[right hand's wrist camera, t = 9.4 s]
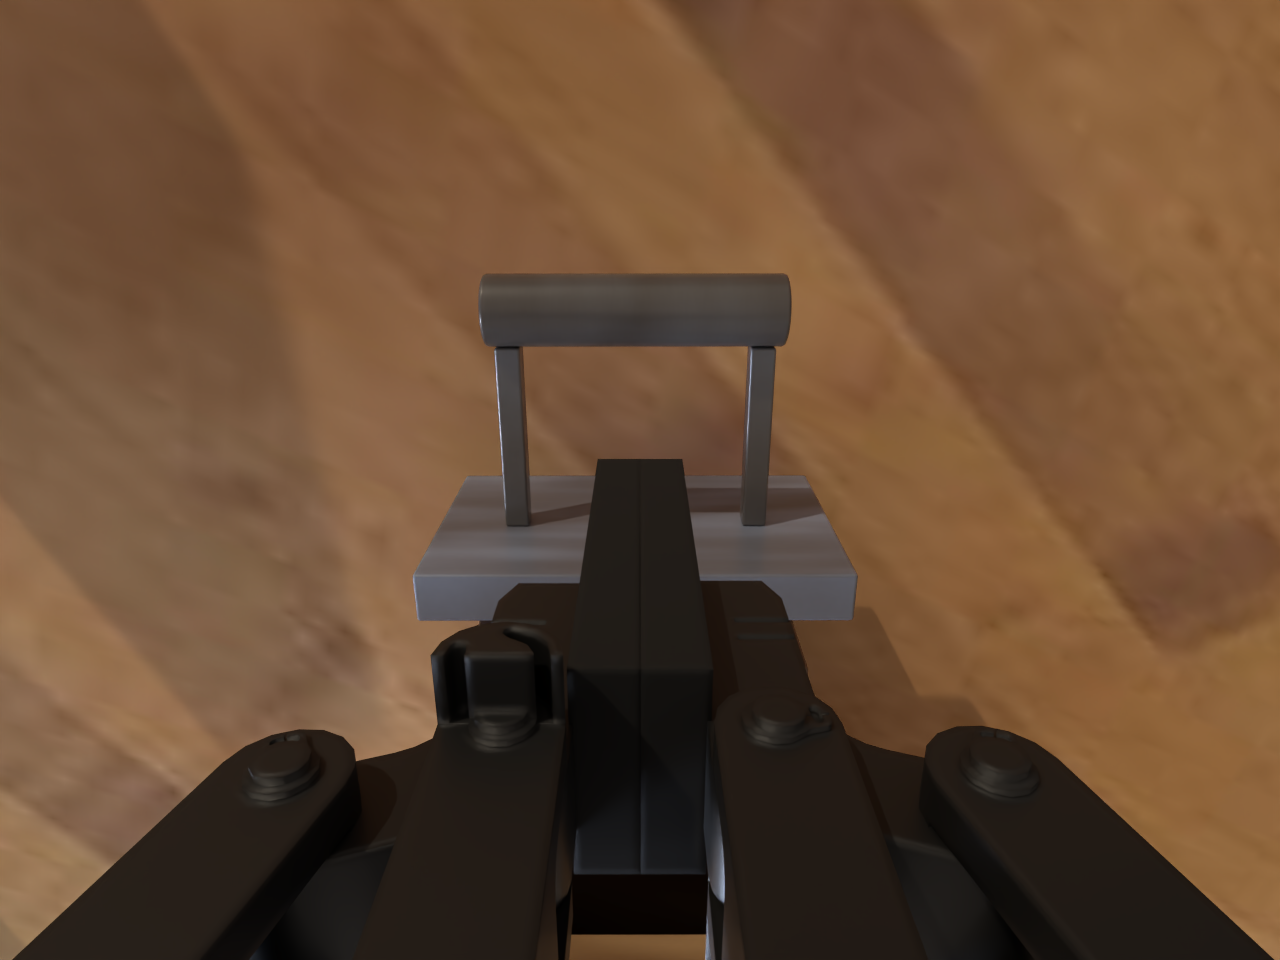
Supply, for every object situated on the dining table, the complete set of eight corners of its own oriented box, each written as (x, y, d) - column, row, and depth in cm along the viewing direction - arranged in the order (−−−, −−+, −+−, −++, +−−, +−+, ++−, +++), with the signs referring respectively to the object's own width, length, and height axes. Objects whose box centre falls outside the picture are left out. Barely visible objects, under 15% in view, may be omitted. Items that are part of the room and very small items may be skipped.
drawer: (448, 257, 22) (378, 292, 16) (823, 257, 22) (889, 292, 16) (506, 949, 31) (476, 1130, 25) (768, 949, 31) (798, 1130, 25)
